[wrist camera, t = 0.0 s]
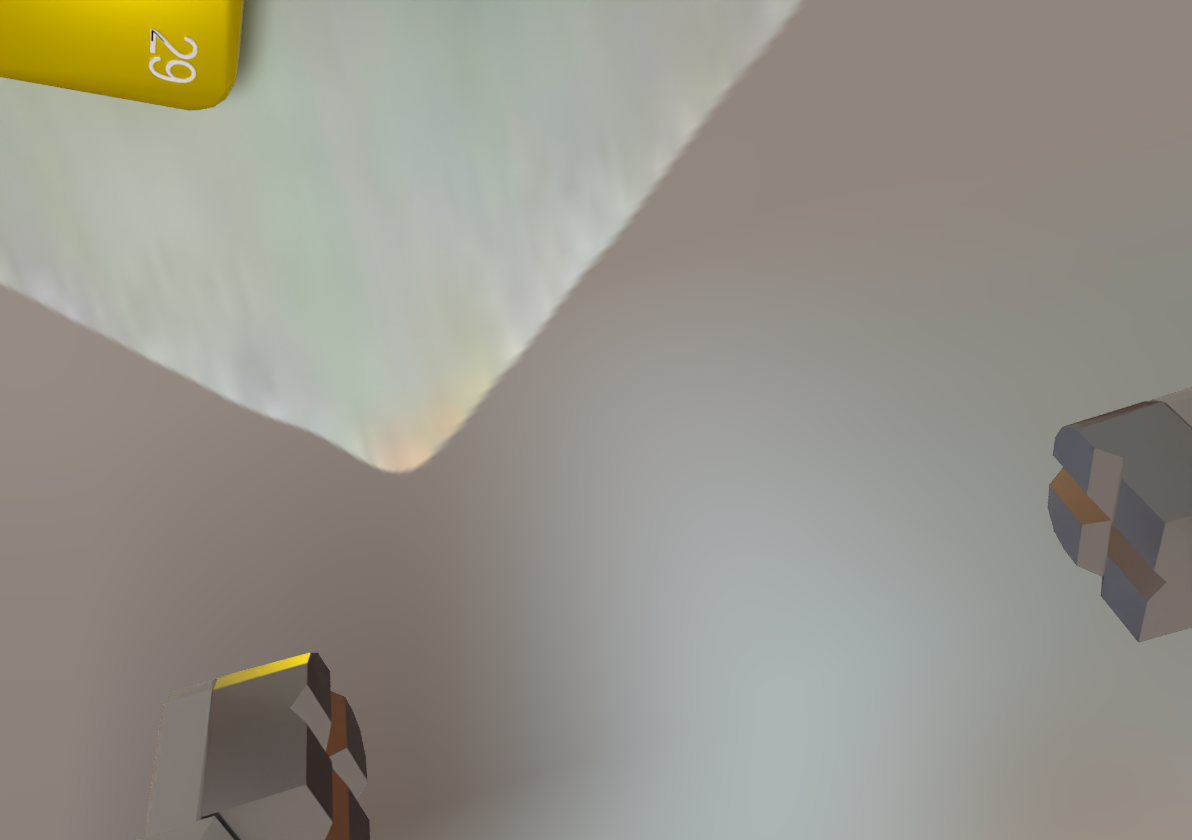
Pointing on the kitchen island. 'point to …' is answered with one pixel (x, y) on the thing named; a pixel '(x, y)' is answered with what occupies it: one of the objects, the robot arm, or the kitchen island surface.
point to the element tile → (126, 47)
